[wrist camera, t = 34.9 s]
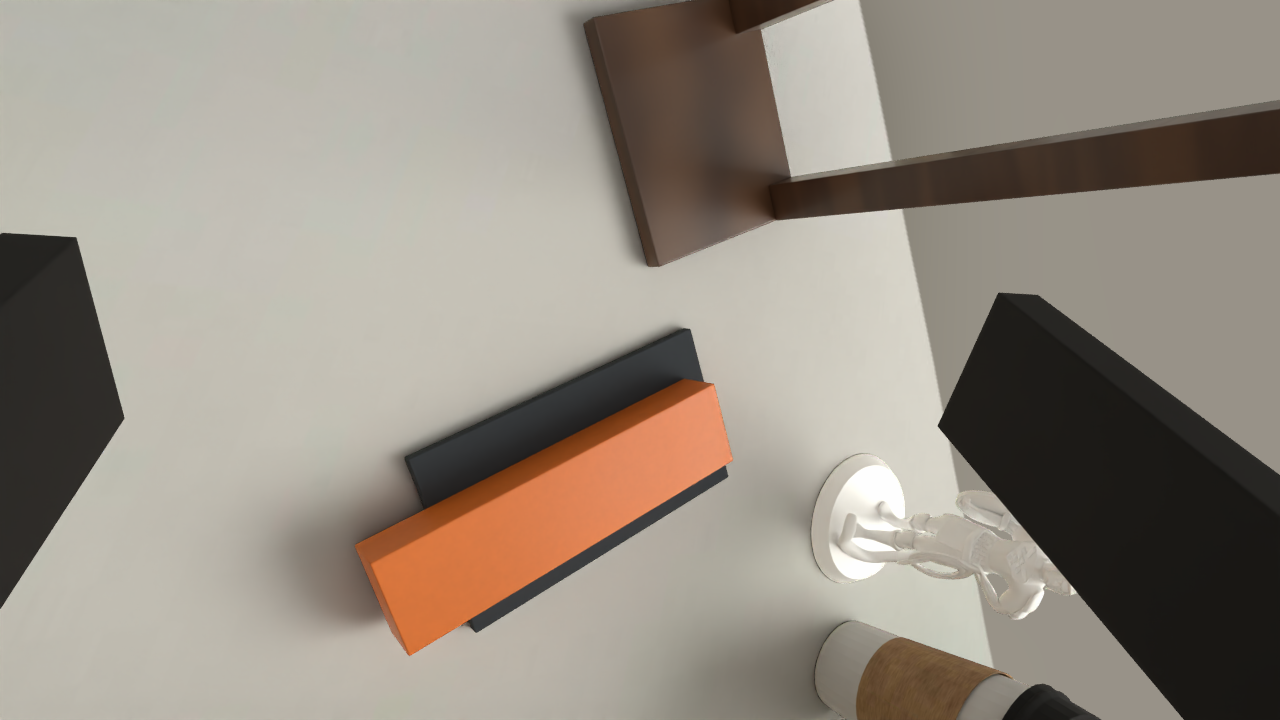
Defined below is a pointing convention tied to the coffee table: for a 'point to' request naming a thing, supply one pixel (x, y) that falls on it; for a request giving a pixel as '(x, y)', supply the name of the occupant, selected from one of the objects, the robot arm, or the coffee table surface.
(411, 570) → the orange block
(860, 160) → the coffee table surface
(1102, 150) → the walnut rack
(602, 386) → the rubber pad
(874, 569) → the figurine
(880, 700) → the coffee cup
